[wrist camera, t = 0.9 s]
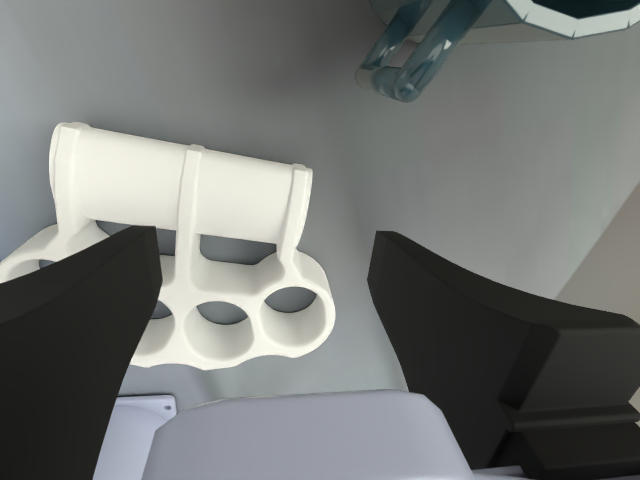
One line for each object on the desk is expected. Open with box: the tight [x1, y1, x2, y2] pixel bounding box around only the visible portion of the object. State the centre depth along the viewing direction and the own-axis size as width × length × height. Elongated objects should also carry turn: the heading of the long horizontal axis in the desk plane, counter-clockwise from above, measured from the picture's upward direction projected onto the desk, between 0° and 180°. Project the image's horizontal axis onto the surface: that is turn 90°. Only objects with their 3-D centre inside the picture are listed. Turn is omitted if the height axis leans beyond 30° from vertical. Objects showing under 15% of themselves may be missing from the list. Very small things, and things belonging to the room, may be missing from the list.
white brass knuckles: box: [0, 122, 335, 370], centre depth 20 cm, size 3×18×15 cm
